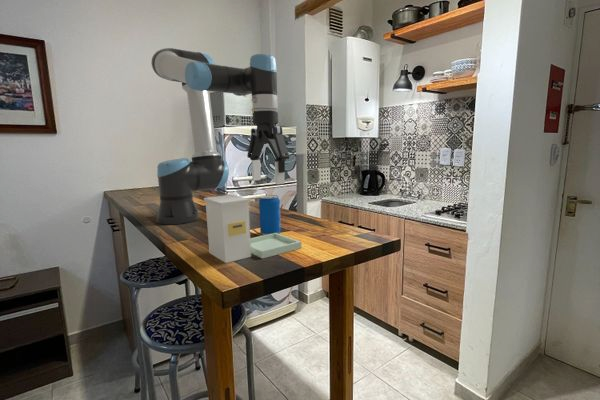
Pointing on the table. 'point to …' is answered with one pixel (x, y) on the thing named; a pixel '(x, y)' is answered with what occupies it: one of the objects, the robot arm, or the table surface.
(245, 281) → the table surface
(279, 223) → the beverage can
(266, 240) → the tray
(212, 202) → the block
